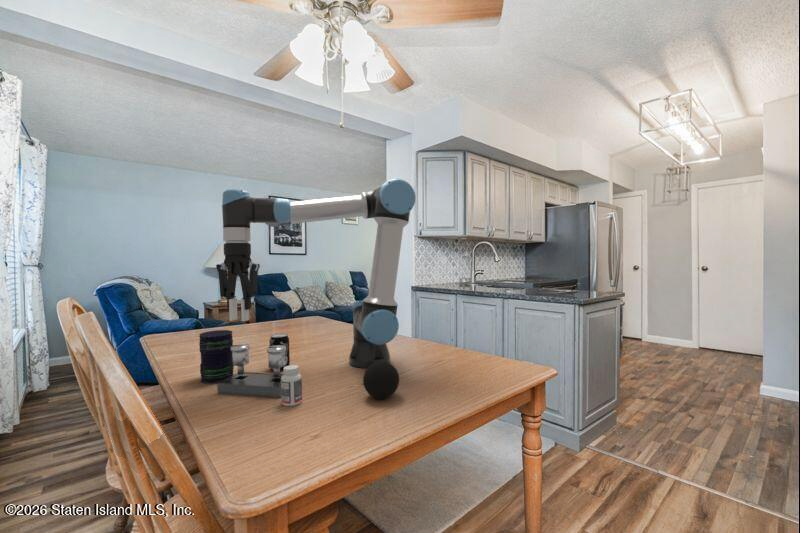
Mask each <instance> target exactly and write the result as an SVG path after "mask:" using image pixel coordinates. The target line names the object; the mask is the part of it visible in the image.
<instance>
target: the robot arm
mask: <svg viewBox="0 0 800 533" xmlns="http://www.w3.org/2000/svg"><path fill="white" fill-rule="evenodd" d="M415 204H416V192H415V190H414V188H413V186H412V185H411V184H410V183H409V182H407V181H406V180H404V179H400V178H392V179H389V180H386V181H384V183H383V184H381V186H379V187H377V188H375V189H372V190H368V191H362V192H361V193H360V194H359V195H350V196H349V195H348V196H338V197H337V196H336V197H329V198H319V199H318V198H317V199H308V200H307V199H306V200H298V201H291V200H290V199H288V198H280V197H277V198H274V197H273V198H271V197H270V198H269V197H251V196H250V192H249V191H248V190H245V189H244V190H243V189H227V190H225V191H223V192H222V204H221V209H222V238H223V239H222V240H223V242H225V243H224V244H223V255H224V260H223V262H222V263H218V264H216V265H215V267H216V270H217V272H218V282H219V284H218V285H219V292H220V294H219V295H220V297H222V298H226V308H227V310H228V312H229V313H228V314H229V322H233V321H237V320H238V298H237V296H236V295H235V294H236V287H237V281H238V279H237V278H238V277H239V281H240V286H241V292H242V297H241V299H240V308H241V309H240V312H241V314H240V315H241V322H246V321H249V320H250V310H251V309H252V299H253V298H254V297H256V296H258V275H259V270H260V268H261V265H260V264H259V263H255V262H253V261H252V259H251V255H252V244H251V243H250V242H251V240H252V239H251V224H253V223H254V224H256V223H257V224H258V223H259V224H265V225H267V226H268V227H270V228H271V227H272V228H277V227H279V226H285V225H286V226H288V225H293V224H295V225H296V224H302V223H311V222H320V221H331V220H332V221H333V220H339V219H340V220H341V219H348V218H349V219H350V218H357V217H358V218H359V217H362V218H364V219H365V220H366V219H374V221H375V222H376V225H377V228H376V235H375V244H374V252H373V259H372V267H371V273H370V280H369V289H368V295H367V296H366V297H365V298H363V299H362V300H355V301H354V302H353V303H352V318H353V319H352V321H353V322H352V324H353V328H352V329H353V343H352V345H351V350H350V353H349V356H348V363H349V365H350V366H352V367H356V368H363V369H367V368H368V367H369V366H370V365H371V364H373V363H375V362H378V361H385V362H388V363H390V364H391V354H390V351H389V348H388V345H387V344H388V343H390V342H392V340H394V339H395V337H396V336H397V334H398V331H399V326H400V325H399V324H400V323H399V320H398V318H397V312H398V306H399V305H398V303H397V301H396V300H395V292H396V285H397V278H398V270H399V262H400V255H401V254H400V253H401V248H402V247H401V246H402V240H403V231H404V228H405V227H407V225H408V224H409V223H410V222H409V221H410V214H411V211H412V210H413V208H414V206H415Z"/></svg>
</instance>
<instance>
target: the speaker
mask: <svg viewBox="0 0 800 533" xmlns="http://www.w3.org/2000/svg"><path fill="white" fill-rule="evenodd" d="M362 383H363V387H364V389H365V391H366V392H367V394H368V395H370V397H372V398H375V399H380V400H382V399H387V398H389V397H391V396H393V394H394V393H395V392H396V391H397V389H398V387H399V383H400V376H399V373H398V370H397V368H396V367H395V366H394V364H391V362H390V363H388V362H385V361H378V362H375V363H373V364H371V365H370V366H369V367H368V368H365V371H364V374H363V378H362Z"/></svg>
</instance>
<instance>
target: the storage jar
mask: <svg viewBox="0 0 800 533" xmlns="http://www.w3.org/2000/svg"><path fill="white" fill-rule="evenodd" d="M198 344H199V353H200V364H199V369H200V370H199V371H200V377H201V378H200V382H201V383H203V384H217V383H218V382H220V381H222V380H224V379H226V378H228V377H230V376H232V375H234V374H235V373H234V369H235V368H234V367H235V366H234V365H232V351H231V346H233V345H234V339H233V331H232V330H229V329H228V330H226V329H220V330H219V329H217V330H211V331H205V332H201V333H199V343H198Z"/></svg>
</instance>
